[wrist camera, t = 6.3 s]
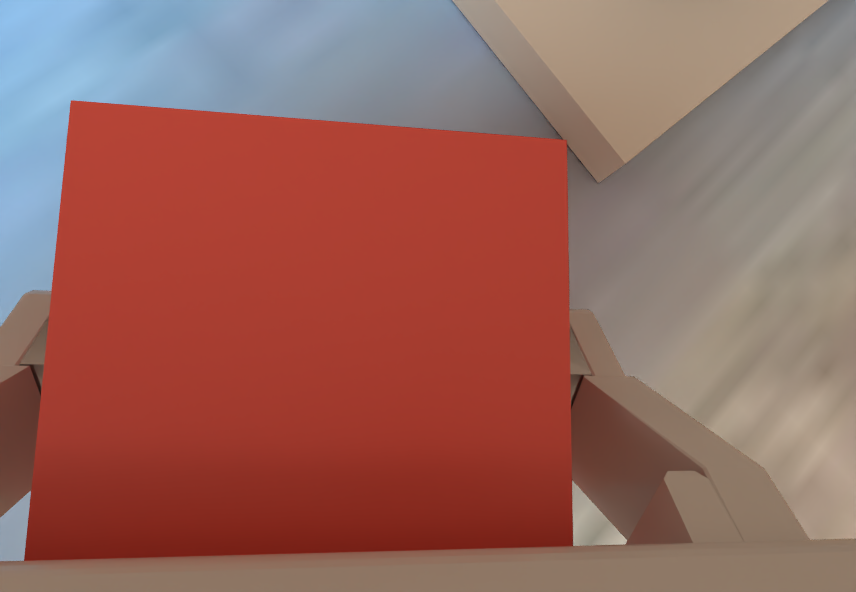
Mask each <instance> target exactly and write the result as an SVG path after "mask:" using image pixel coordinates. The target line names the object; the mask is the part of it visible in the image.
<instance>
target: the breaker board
mask: <svg viewBox="0 0 856 592" xmlns="http://www.w3.org/2000/svg"><path fill="white" fill-rule="evenodd" d="M452 1H453V2H454V3H455V4H456V6H457V7H458V8H459V9H460V11H461V12H462V13H463V14H464V16H465V17H466V18H467V19H468V21H469V22H470V23H471V24H472V26H473V27H474V28H475V29H476V31H477V32H478V33H479V34H480V36H481V37H482V38H483V39H484V41H485V42H486V43H487V44H488V46H489V47H490V48H491V49H492V51H493V52H494V53H495V55H496V56H497V57H498V58H499V60H500V61H501V62H502V63H503V65H504V66H505V67H506V68H507V70H508V71H509V72H510V73H511V75H512V76H513V77H514V78H515V80H516V81H517V82H518V83H519V85H520V86H521V87H522V88H523V90H524V91H525V92H526V93H527V95H528V96H529V97H530V98H531V100H532V101H533V102H534V103H535V105H536V106H537V107H538V108H539V110H540V111H541V112H542V113H543V115H544V116H545V117H546V118H547V120H548V121H549V122H550V123H551V125H552V126H553V127H554V128H555V130H556V131H557V132H558V133H559V135H560V136H561V137H562V138H563V140H567V145H568V146H569V147H570V148H571V150H572V151H573V152H574V153H575V155H576V156H577V157H578V158H579V160H580V161H581V162H582V163H583V165H584V166H585V167H586V168H587V170H588V171H589V172H590V173H591V175H592V176H593V177H594V178H595V180H596V181H597V182H598V183H600V182H601V181H602V180H604V179H605V178H606V177H608V176H609V175H611V174H612V173H613V172H615V171H616V170H617V169H619V168H620V167H622V166H623V165H624V164H626V163H627V162H628V161H629V160H631V159H632V158H633V157H634V156H636V155H637V154H638V153H639V152H641V151H642V150H643V149H644V148H646V147H647V146H648V145H649V144H651V143H652V142H653V141H654V140H656V139H657V138H658V137H659V136H660V135H662V134H663V133H664V132H665V131H667V130H668V129H669V128H670V127H672V126H673V125H674V124H675V123H677V122H678V121H679V120H680V119H682V118H683V117H684V116H685V115H687V114H688V113H689V112H690V111H692V110H693V109H694V108H695V107H697V106H698V105H699V104H700V103H702V102H703V101H704V100H705V99H706V98H708V97H709V96H710V95H711V94H713V93H714V92H715V91H716V90H718V89H719V88H720V87H721V86H723V85H724V84H725V83H726V82H728V81H729V80H730V79H731V78H733V77H734V76H735V75H736V74H738V73H739V72H740V71H741V70H743V69H744V68H745V67H746V66H748V65H749V64H750V63H751V62H752V61H754V60H755V59H756V58H757V57H759V56H760V55H761V54H762V53H764V52H765V51H766V50H767V49H769V48H770V47H771V46H772V45H774V44H775V43H776V42H777V41H779V40H780V39H781V38H782V37H784V36H785V35H786V34H787V33H789V32H790V31H791V30H792V29H794V28H795V27H796V26H797V25H798V24H800V23H801V22H802V21H803V20H805V19H806V18H807V17H808V16H810V15H811V14H812V13H813V12H815V11H816V10H817V9H818V8H820V7H821V6H822V5H823V4H825V3H826V2H827V1H828V0H452Z"/></svg>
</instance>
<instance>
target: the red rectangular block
mask: <svg viewBox="0 0 856 592" xmlns="http://www.w3.org/2000/svg"><path fill="white" fill-rule="evenodd" d="M558 546H573V516H572V450H571V384H570V318H569V252H568V186H567V140H561V139H549V138H536V137H523V136H511V135H498V134H486V133H473V132H461V131H448V130H436V129H423V128H410V127H398V126H385V125H373V124H360V123H348V122H335V121H323V120H310V119H297V118H285V117H272V116H260V115H247V114H235V113H222V112H210V111H197V110H184V109H172V108H159V107H147V106H134V105H122V104H109V103H97V102H84V101H71V105H70V115H69V125H68V134H67V144H66V154H65V164H64V174H63V184H62V193H61V203H60V213H59V223H58V233H57V243H56V253H55V262H54V272H53V282H52V292H51V302H50V312H49V321H48V331H47V341H46V351H45V361H44V371H43V381H42V390H41V400H40V410H39V420H38V430H37V440H36V449H35V459H34V469H33V479H32V489H31V499H30V508H29V518H28V528H27V538H26V548H25V558H24V561H36V560H74V559H111V558H148V557H186V556H224V555H262V554H300V553H338V552H376V551H414V550H450V549H486V548H522V547H558Z"/></svg>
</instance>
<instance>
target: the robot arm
mask: <svg viewBox="0 0 856 592" xmlns="http://www.w3.org/2000/svg"><path fill="white" fill-rule="evenodd" d="M51 292H52V291H43V290H32V291H30V292H27V293H25V294H24V295H23V296H22V297H21V299H20V300H19V302H18V303H17V304H16V306H15V307H14V309H13V310H12V311H11V313H10V314H9V316H8V317H7V319H6V320H5V321H4V323H3V324H2V326H1V327H0V517H1V516H3V515H4V514H5V513H6V512H7V511H8V510H9V509H10V508H11V507H13V506H14V505H15V504H16V503H17V502H18V501H19V500H20V499H22V498H23V497H24V496H25V495H26V494H27V493H28V492H29V491H31V489H32V479H33V469H34V459H35V449H36V440H37V430H38V420H39V410H40V400H41V390H42V381H43V371H44V361H45V351H46V341H47V331H48V321H49V312H50V302H51ZM569 318H570V384H571V450H572V480H573V481H574V482H575V483H576V484H577V486H578V487H579V488H580V489H581V490H582V491H583V492H584V493H585V494H586V495H587V497H588V498H589V499H590V500H591V501H592V502H593V503H594V504H595V505H596V506H597V508H598V509H599V510H600V511H601V512H602V513H603V514H604V515H605V516H606V517H607V518H608V520H609V521H610V522H611V523H612V524H613V525H614V526H615V527H616V528H617V529H618V531H619V532H620V533H621V534H622V535H623V536H624V537H625V538H626V539H627V540H628V541H627V543H626V544H625V545H595V546H558V547H522V548H486V549H450V550H414V551H376V552H338V553H300V554H262V555H224V556H186V557H148V558H111V559H74V560H36V561H0V592H856V539H823V540H810V539H809V538H808V536H807V534H806V533H805V531H804V530H803V528H802V527H801V525H800V523H799V522H798V520H797V519H796V517H795V516H794V514H793V513H792V511H791V509H790V508H789V506H788V505H787V503H786V502H785V500H784V499H783V497H782V495H781V494H780V492H779V491H778V489H777V488H776V486H775V485H774V483H773V481H772V480H771V478H770V477H769V475H768V474H767V472H766V471H765V469H764V468H763V467H761V466H760V465H758V464H757V463H756V462H754V461H753V460H751V459H750V458H749V457H747V456H746V455H744V454H743V453H741V452H740V451H739V450H737V449H736V448H734V447H733V446H732V445H730V444H729V443H727V442H726V441H724V440H723V439H722V438H720V437H719V436H717V435H716V434H715V433H713V432H712V431H710V430H709V429H707V428H706V427H705V426H703V425H702V424H700V423H699V422H698V421H696V420H695V419H693V418H692V417H690V416H689V415H688V414H686V413H685V412H683V411H682V410H681V409H679V408H678V407H676V406H675V405H673V404H672V403H671V402H669V401H668V400H666V399H665V398H664V397H662V396H661V395H659V394H658V393H656V392H655V391H654V390H652V389H651V388H649V387H648V386H647V385H645V384H644V383H642V382H641V381H639V380H638V379H637V378H635V377H627V376H625V374H624V373H623V371H622V369H621V367H620V365H619V363H618V361H617V359H616V357H615V355H614V353H613V351H612V349H611V347H610V345H609V343H608V341H607V339H606V337H605V335H604V333H603V331H602V329H601V327H600V326H599V324H598V322H597V320H596V318H595V316H594V314H593V313H592V312H591V311H590V310H585V309H569Z"/></svg>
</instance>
